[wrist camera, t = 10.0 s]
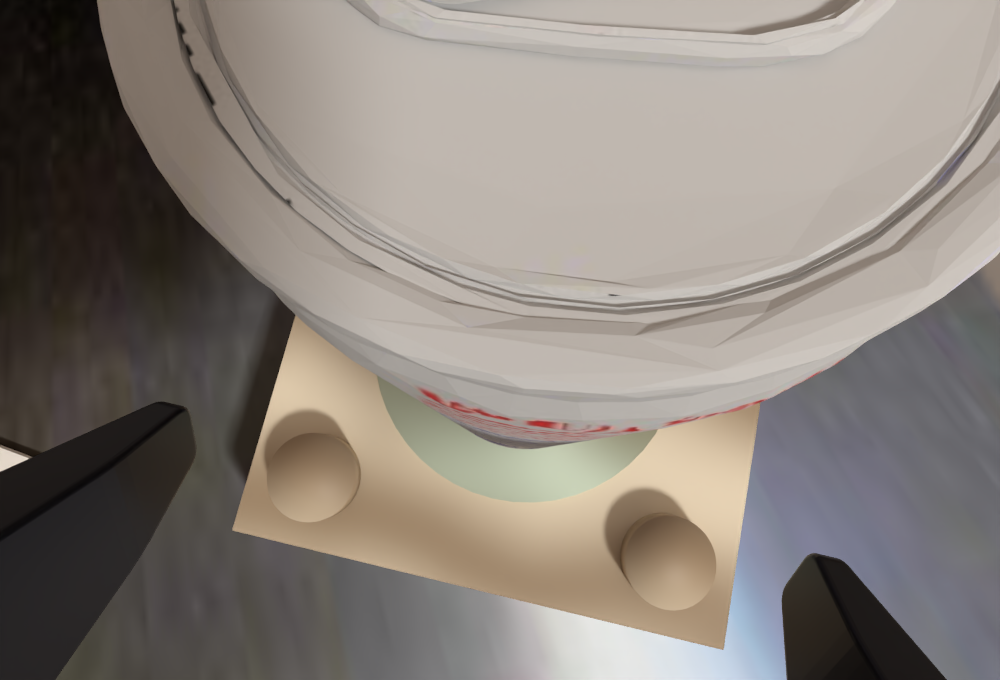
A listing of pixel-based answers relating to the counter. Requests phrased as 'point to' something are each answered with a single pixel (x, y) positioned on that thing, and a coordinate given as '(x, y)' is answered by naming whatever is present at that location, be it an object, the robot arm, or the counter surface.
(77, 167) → the counter surface
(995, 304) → the counter surface
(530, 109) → the beverage can
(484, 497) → the base brick
